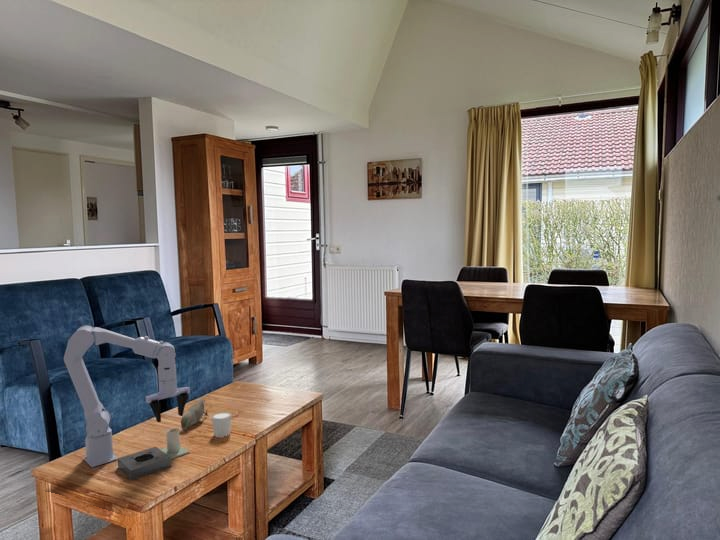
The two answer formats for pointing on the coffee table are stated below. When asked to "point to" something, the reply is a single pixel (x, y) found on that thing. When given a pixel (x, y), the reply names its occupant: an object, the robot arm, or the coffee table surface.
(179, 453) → the mat
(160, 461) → the housing
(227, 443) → the coffee table surface
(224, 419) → the white tapered cylinder
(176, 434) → the plug
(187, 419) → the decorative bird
